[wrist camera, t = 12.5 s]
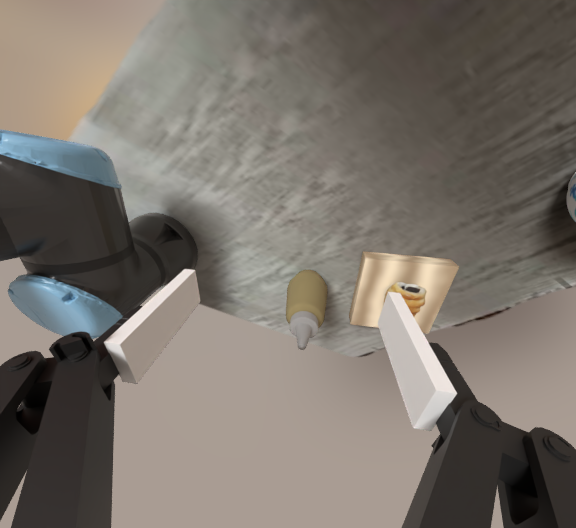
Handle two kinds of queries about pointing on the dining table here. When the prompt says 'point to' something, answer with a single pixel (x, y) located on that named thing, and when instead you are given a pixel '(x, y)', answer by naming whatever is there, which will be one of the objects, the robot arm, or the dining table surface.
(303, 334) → the squeeze bottle
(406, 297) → the pastry
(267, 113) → the dining table surface
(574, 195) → the chinaware
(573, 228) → the dining table surface
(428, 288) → the serving board
